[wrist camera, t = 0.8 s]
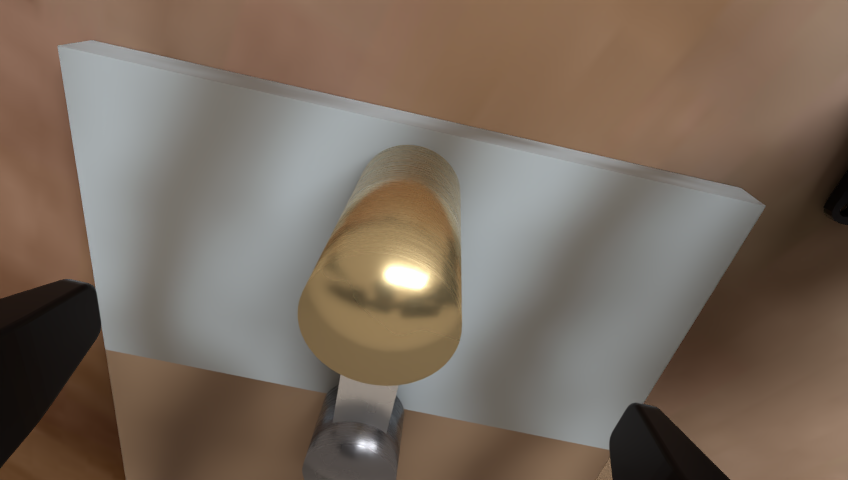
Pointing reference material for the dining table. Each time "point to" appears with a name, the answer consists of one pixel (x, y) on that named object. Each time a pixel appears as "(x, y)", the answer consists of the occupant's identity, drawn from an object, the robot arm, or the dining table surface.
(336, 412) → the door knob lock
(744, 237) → the door board
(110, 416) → the dining table surface
